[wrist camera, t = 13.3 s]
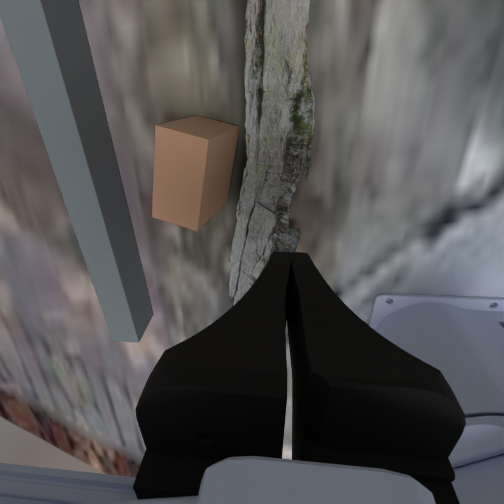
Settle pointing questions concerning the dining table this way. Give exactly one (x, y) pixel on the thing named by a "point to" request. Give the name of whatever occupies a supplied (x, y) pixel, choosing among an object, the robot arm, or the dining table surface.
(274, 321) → the robot arm
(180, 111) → the dining table surface
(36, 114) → the slate curb
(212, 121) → the tile
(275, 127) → the driftwood
